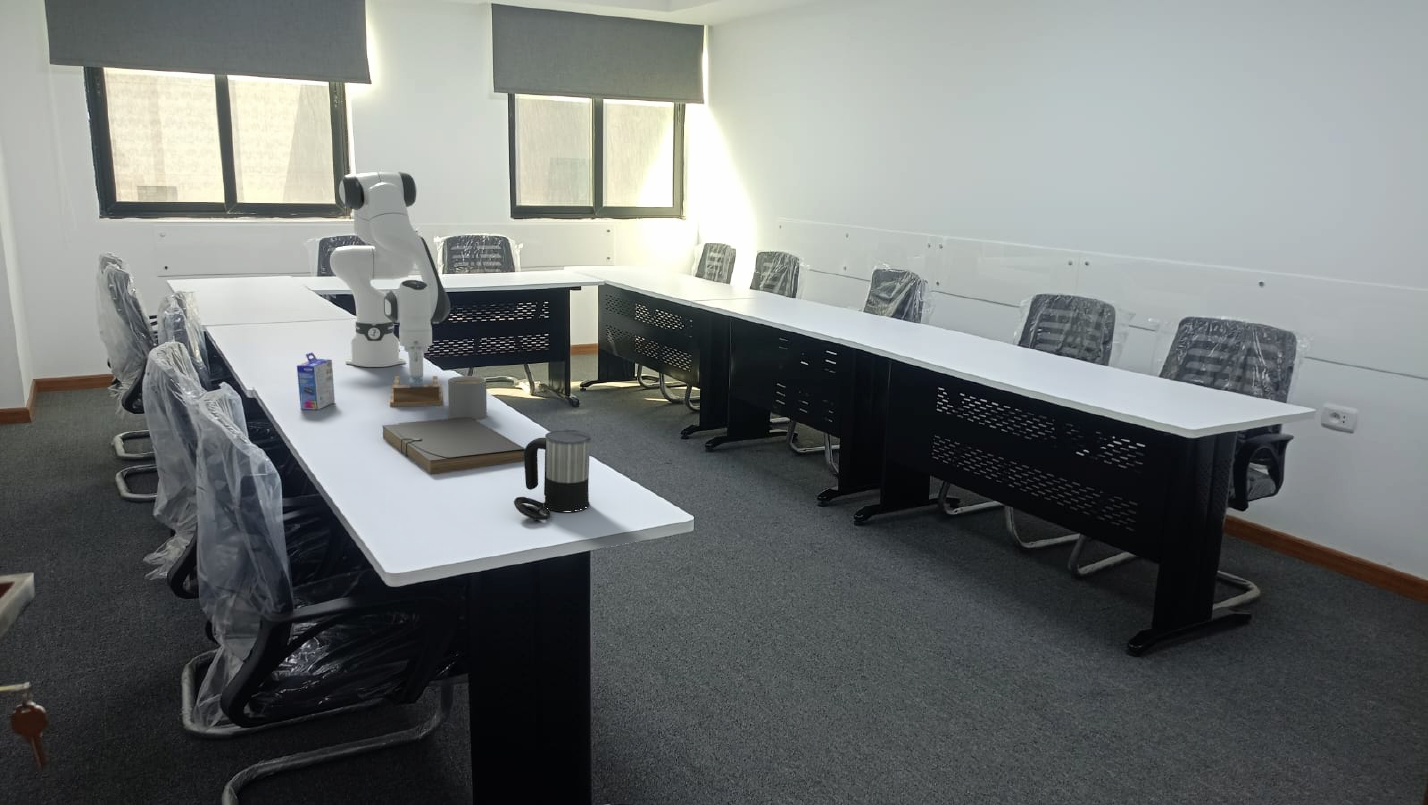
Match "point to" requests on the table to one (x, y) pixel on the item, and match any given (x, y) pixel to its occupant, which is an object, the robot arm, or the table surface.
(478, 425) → the file folder
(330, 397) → the ink cartridge box
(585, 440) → the milk frother
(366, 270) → the robot arm
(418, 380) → the grey flanged pedestal
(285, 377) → the table surface
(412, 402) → the wooden tray
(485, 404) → the coffee mug
